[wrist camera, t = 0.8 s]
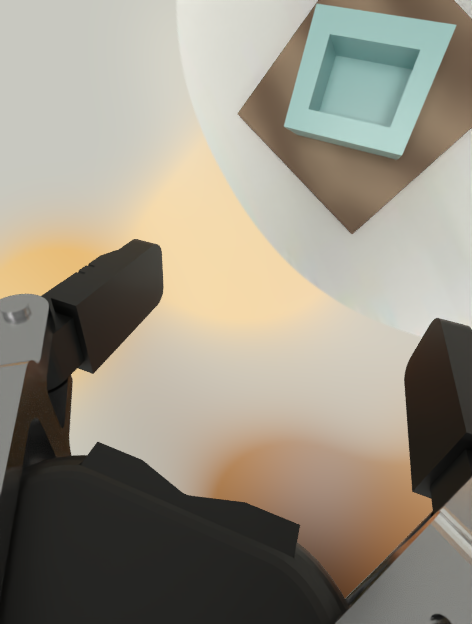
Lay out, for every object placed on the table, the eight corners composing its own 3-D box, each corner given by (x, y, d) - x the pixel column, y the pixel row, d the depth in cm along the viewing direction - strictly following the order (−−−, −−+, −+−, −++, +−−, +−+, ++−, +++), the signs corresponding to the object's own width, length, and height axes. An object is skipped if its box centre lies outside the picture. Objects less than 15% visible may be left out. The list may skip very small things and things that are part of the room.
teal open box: (326, 34, 28) (316, 3, 23) (441, 54, 26) (456, 24, 21) (297, 134, 31) (283, 126, 26) (397, 159, 29) (402, 155, 24)
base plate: (376, -73, 25) (376, -82, 25) (522, 81, 25) (527, 77, 25) (241, 115, 33) (237, 113, 32) (352, 232, 33) (352, 234, 32)
